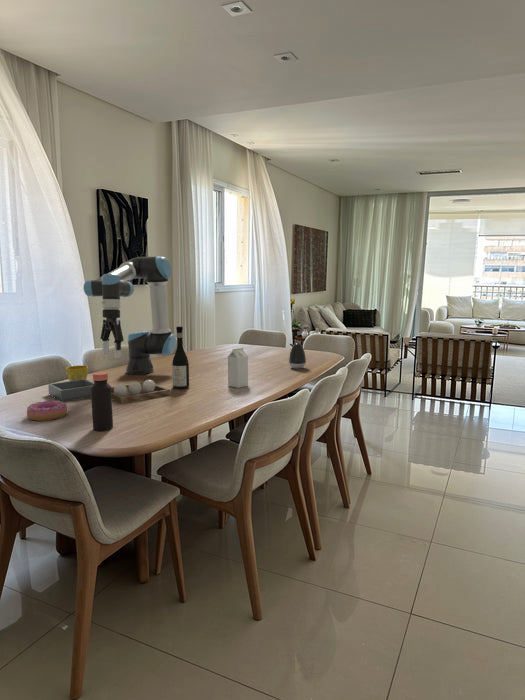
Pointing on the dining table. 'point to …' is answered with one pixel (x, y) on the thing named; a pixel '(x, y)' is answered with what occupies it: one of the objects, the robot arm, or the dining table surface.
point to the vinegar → (101, 402)
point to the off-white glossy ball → (120, 390)
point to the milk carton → (238, 368)
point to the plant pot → (77, 372)
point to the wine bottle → (180, 364)
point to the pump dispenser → (297, 356)
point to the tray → (140, 395)
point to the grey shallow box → (71, 390)
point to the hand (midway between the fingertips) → (111, 356)
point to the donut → (46, 410)
